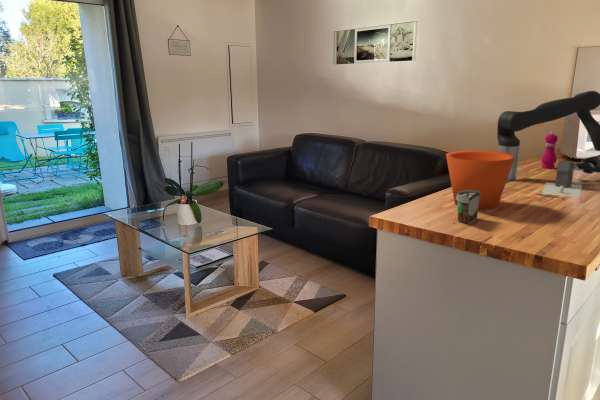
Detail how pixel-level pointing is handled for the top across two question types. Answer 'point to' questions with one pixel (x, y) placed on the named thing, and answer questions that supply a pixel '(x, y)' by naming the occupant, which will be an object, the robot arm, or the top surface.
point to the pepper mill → (549, 151)
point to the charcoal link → (564, 174)
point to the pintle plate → (566, 190)
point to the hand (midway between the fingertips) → (577, 169)
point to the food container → (467, 205)
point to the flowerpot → (480, 174)
